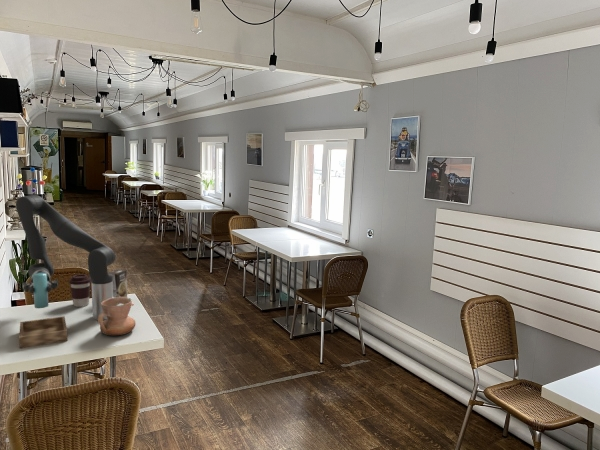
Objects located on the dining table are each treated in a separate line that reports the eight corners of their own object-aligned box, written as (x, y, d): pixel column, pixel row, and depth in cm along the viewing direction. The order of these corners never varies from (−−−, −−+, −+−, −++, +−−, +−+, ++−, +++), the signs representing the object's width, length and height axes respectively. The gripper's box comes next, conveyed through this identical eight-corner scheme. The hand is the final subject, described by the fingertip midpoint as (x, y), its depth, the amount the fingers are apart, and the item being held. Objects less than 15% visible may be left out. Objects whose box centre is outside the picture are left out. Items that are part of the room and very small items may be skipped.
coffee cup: (78, 300, 242) (76, 272, 240) (95, 302, 241) (94, 274, 238) (66, 307, 232) (64, 277, 230) (84, 308, 231) (83, 279, 229)
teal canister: (48, 303, 202) (46, 272, 199) (48, 307, 197) (46, 275, 195) (34, 305, 199) (32, 273, 197) (34, 309, 195) (32, 276, 192)
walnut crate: (65, 325, 209) (64, 316, 208) (67, 340, 194) (66, 330, 193) (21, 331, 201) (20, 321, 200) (19, 348, 186) (18, 337, 185)
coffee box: (117, 304, 238) (116, 274, 235) (106, 303, 239) (105, 273, 237) (127, 299, 247) (127, 269, 244) (116, 298, 248) (115, 268, 245)
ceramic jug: (123, 322, 215) (121, 292, 213) (145, 329, 208) (143, 298, 206) (88, 335, 200) (86, 304, 198) (110, 343, 193) (108, 311, 190)
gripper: (21, 273, 205) (19, 283, 191) (58, 270, 212) (59, 280, 197) (22, 289, 207) (21, 301, 192) (59, 285, 213) (60, 297, 199)
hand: (40, 290), depth 195 cm, fingers closed on teal canister, 5 cm apart
